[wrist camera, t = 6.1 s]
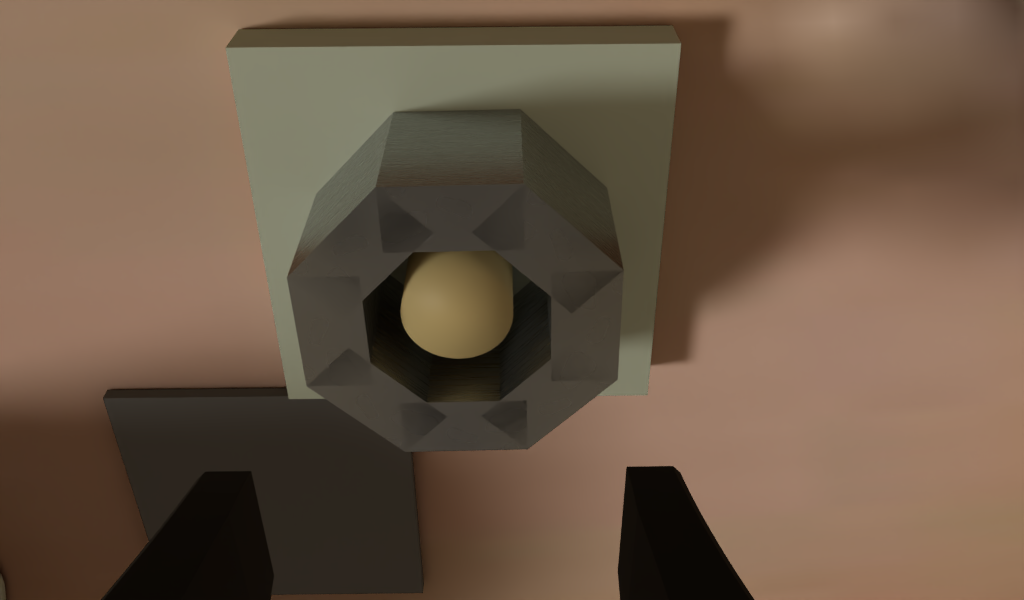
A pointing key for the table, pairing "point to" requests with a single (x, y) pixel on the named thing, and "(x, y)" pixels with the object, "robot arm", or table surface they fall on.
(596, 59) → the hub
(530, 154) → the ring
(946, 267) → the table surface
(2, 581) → the coffee can
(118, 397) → the mat
